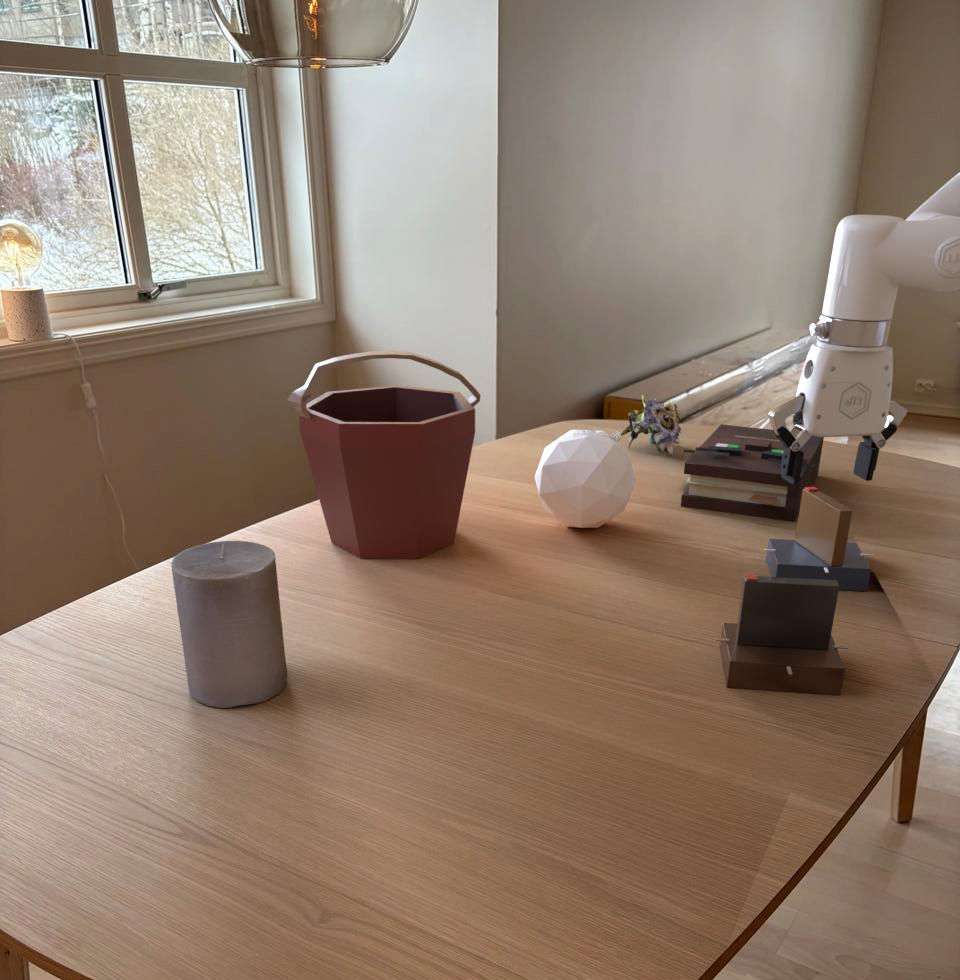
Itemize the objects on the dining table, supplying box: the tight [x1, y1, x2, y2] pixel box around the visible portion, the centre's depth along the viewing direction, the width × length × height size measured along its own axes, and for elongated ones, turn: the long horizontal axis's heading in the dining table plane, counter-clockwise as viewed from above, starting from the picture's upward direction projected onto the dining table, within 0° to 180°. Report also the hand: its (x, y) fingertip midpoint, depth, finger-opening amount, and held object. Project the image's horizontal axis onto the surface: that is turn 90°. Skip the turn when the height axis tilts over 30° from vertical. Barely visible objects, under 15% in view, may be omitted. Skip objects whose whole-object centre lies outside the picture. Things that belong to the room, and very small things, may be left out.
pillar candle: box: [170, 540, 289, 709], centre depth 95 cm, size 10×10×15 cm
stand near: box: [714, 622, 850, 696], centre depth 101 cm, size 13×13×3 cm
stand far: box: [763, 538, 874, 592], centre depth 124 cm, size 13×13×3 cm
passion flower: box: [620, 394, 682, 456], centre depth 175 cm, size 11×11×12 cm
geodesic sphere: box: [534, 428, 637, 529], centre depth 139 cm, size 15×14×14 cm
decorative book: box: [680, 424, 825, 522], centre depth 155 cm, size 19×8×30 cm
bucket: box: [286, 350, 481, 560], centre depth 131 cm, size 24×22×25 cm
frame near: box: [736, 573, 840, 650], centre depth 99 cm, size 9×2×7 cm, turn 82°
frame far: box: [794, 486, 853, 566], centre depth 122 cm, size 9×2×7 cm, turn 12°
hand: (826, 479), depth 119 cm, fingers open, 9 cm apart
